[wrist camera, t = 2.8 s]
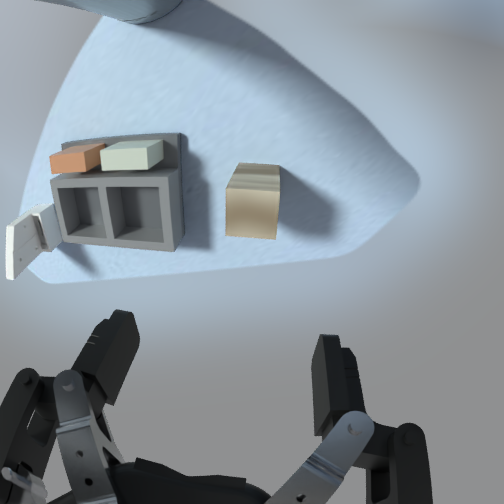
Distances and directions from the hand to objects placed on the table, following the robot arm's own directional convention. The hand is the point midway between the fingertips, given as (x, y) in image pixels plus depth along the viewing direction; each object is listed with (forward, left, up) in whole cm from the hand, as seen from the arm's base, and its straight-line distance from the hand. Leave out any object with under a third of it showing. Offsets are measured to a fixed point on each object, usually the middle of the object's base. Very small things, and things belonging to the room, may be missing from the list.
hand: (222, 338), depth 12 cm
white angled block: (+6, -29, -21) cm, 36 cm away
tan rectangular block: (0, 0, -20) cm, 20 cm away
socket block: (+1, -15, -20) cm, 25 cm away
